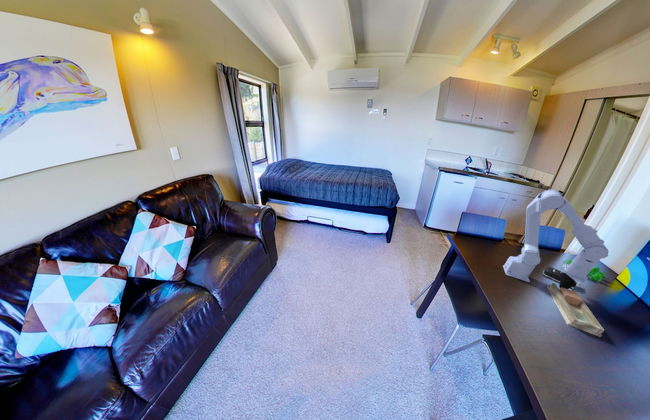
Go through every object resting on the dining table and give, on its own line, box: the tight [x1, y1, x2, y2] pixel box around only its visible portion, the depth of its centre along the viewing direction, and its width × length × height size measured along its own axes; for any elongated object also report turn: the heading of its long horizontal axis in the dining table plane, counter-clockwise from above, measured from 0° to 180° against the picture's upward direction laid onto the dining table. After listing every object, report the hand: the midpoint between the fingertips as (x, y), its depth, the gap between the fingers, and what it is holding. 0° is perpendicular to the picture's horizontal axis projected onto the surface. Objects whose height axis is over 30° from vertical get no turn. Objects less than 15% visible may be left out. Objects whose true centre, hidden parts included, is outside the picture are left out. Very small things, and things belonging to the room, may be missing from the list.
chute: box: [546, 282, 605, 338], centre depth 85 cm, size 9×22×4 cm, turn 150°
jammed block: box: [558, 287, 583, 306], centre depth 89 cm, size 5×5×4 cm
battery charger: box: [542, 266, 576, 290], centre depth 102 cm, size 7×4×11 cm
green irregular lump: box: [563, 258, 608, 282], centre depth 108 cm, size 15×15×7 cm
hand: (562, 288), depth 94 cm, fingers closed
